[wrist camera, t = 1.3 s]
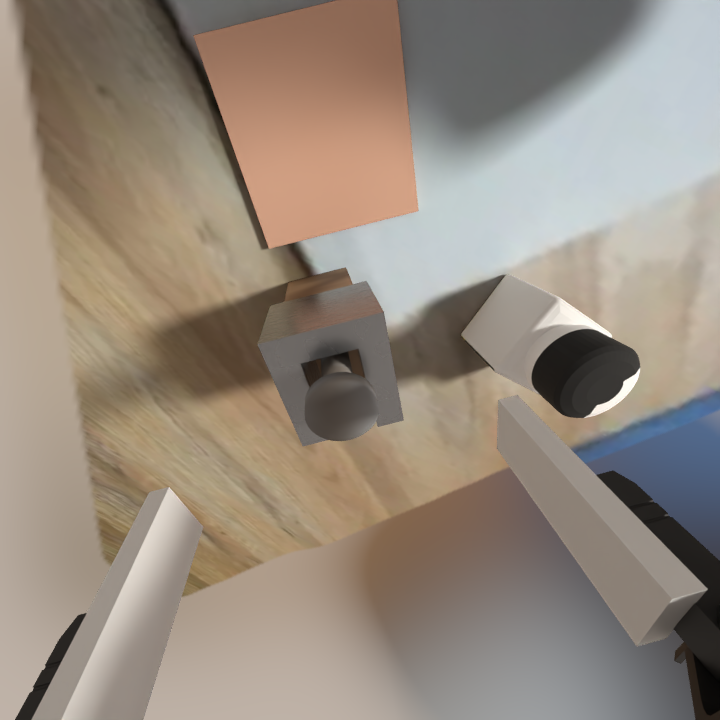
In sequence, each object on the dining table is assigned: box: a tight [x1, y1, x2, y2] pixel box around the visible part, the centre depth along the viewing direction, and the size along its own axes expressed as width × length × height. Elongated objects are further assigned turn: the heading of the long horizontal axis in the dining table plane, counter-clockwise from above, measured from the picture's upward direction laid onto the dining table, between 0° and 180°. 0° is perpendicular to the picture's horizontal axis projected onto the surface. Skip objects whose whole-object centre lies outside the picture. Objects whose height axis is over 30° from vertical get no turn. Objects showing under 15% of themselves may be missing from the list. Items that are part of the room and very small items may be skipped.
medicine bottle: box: [461, 274, 640, 418], centre depth 26 cm, size 7×7×12 cm
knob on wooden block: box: [284, 268, 379, 441], centre depth 22 cm, size 5×8×14 cm, turn 12°
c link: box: [257, 281, 404, 446], centre depth 21 cm, size 8×7×6 cm
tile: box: [193, 0, 418, 249], centre depth 21 cm, size 12×12×1 cm
